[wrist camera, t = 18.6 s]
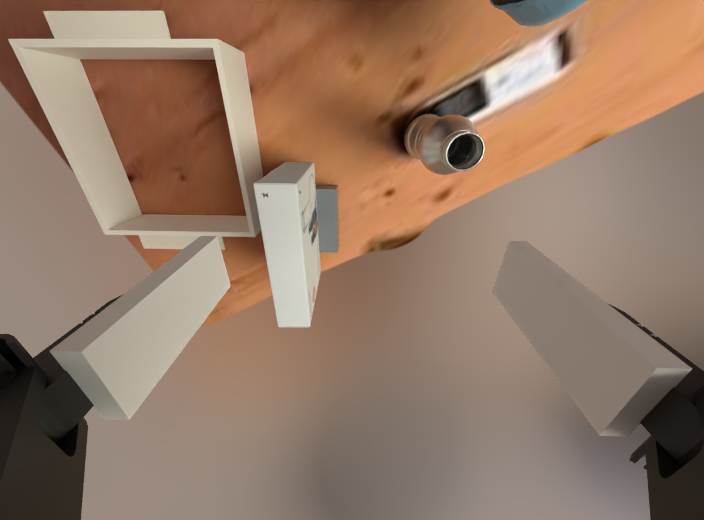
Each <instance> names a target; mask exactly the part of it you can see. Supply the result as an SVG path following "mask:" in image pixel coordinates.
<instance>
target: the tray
mask: <svg viewBox="0 0 704 520" xmlns="http://www.w3.org/2000/svg"><path fill="white" fill-rule="evenodd" d="M43 13H44V15H45V17H46V20H47V22H48V24H49V27H50V29H51V31H52V34H53V36H54V38H55V39H8V40H9V42H10V44H11V46H12V48H13V50H14V52H15V54H16V56H17V58H18V60H19V62H20V64H21V66H22V68H23V70H24V73H25V75H26V77H27V79H28V81H29V83H30V85H31V87H32V89H33V91H34V93H35V95H36V97H37V99H38V101H39V103H40V105H41V107H42V109H43V111H44V113H45V115H46V117H47V119H48V121H49V123H50V125H51V127H52V129H53V131H54V133H55V135H56V137H57V139H58V141H59V143H60V145H61V147H62V149H63V151H64V153H65V155H66V157H67V159H68V161H69V163H70V165H71V167H72V170H73V172H74V174H75V176H76V178H77V180H78V182H79V183H80V186H81V188H82V190H83V192H84V194H85V196H86V198H87V200H88V202H89V204H90V206H91V208H92V210H93V212H94V214H95V216H96V218H97V220H98V222H99V224H100V226H101V228H102V230H103V232H104V234H105V235H107V234H108V235H139V237H140V240H141V242H142V244H143V247H144V248H149V249H184V248H185V247H187V246H188V245H189V244H191V243H192V242H193V241H195V240H196V239H197V238H199V237H200V236H217V237H218V241H219V245H220V248H221V250H225V246H224V242H223V238H222V237H256V236H257V235H258V234H259V232H260V231H261V226H260V220H259V214H258V209H257V203H256V197H255V191H254V186H253V184H254V183H255V182H256V181H259V180H260V179H262V178H263V171H262V165H261V158H260V152H259V146H258V139H257V133H256V126H255V120H254V113H253V107H252V100H251V94H250V88H249V81H248V75H247V68H246V62H245V55H244V52H242V51H240V50H238V49H236V48H234V47H232V46H230V45H228V44H226V43H225V42H223V41H221V40H219V39H171V37H170V33H169V29H168V25H167V21H166V18H165V14H164V11H43ZM80 59H159V60H215V61H216V66H217V71H218V76H219V81H220V86H221V91H222V96H223V101H224V106H225V111H226V116H227V121H228V126H229V131H230V136H231V141H232V146H233V151H234V156H235V161H236V166H237V171H238V176H239V181H240V186H241V191H242V196H243V201H244V206H245V211H246V216H231V215H167V214H142V212H141V210H140V207H139V205H138V202H137V200H136V198H135V195H134V193H133V190H132V188H131V185H130V183H129V180H128V178H127V175H126V173H125V170H124V168H123V165H122V163H121V160H120V158H119V155H118V153H117V150H116V148H115V145H114V143H113V140H112V138H111V135H110V133H109V130H108V128H107V125H106V123H105V120H104V118H103V115H102V113H101V110H100V108H99V106H98V103H97V101H96V98H95V96H94V93H93V91H92V88H91V86H90V83H89V81H88V78H87V76H86V73H85V71H84V68H83V66H82V63H81V61H80Z"/></svg>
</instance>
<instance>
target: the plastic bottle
mask: <svg viewBox="0 0 704 520" xmlns="http://www.w3.org/2000/svg"><path fill="white" fill-rule="evenodd" d="M404 143H405V147H406V150H407V151H408V153H409V154H410V155H411V156H412V157H414V158H416V159H419V160H421V161H422V163H423V164H424V166H425V167H426V168H427V169H428V170H430V171H431V172H433V173H436V174H440V175H448V174H453V173H456V172H458V171H466V170H469V169H472V168H473V167H475V166H476V165H477V164H478V163H479V162H480V161H481V159H482V157H483V155H484V151H485V145H484V141H483V139H482V138H481V137H480V136H479V135H478V132H477V130H476V128H475V126H474V125H473V123H472V122H471V121H470V120H469V119H467V118H465V117H463V116H460V115H446V116H442V117H439V116H436V115H433V114H424V115H421V116H419V117H417V118H415V119H414V120H413V121H412V122H411V123H410V124H409V126H408V127H407V129H406V132H405V136H404Z"/></svg>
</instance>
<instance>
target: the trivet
mask: <svg viewBox="0 0 704 520" xmlns="http://www.w3.org/2000/svg"><path fill="white" fill-rule="evenodd" d="M315 186H316V203H317V219H318V236H319V252H338V248H339V225H338V185H315Z"/></svg>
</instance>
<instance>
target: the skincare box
mask: <svg viewBox="0 0 704 520" xmlns="http://www.w3.org/2000/svg"><path fill="white" fill-rule="evenodd" d="M253 186H254V191H255V197H256V203H257V209H258V214H259V220H260V226H261V232H262V237H263V243H264V249H265V255H266V261H267V267H268V273H269V278H270V284H271V290H272V295H273V301H274V306H275V312H276V318H277V323H278V327H310V323H311V318H312V313H313V308H314V302H315V298H316V292H317V287H318V282H319V276H320V272H321V270H320V252H319V236H318V219H317V203H316V186H315V170H314V162H284V163H283V164H281V165H280V166H279V167H277V168H275V169H274V170H272V171H271V172H269V173H268V174H267V175H266V176H265V177H263V178H262V179H260V180H259V181H256V182H255V183H254V184H253Z"/></svg>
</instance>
